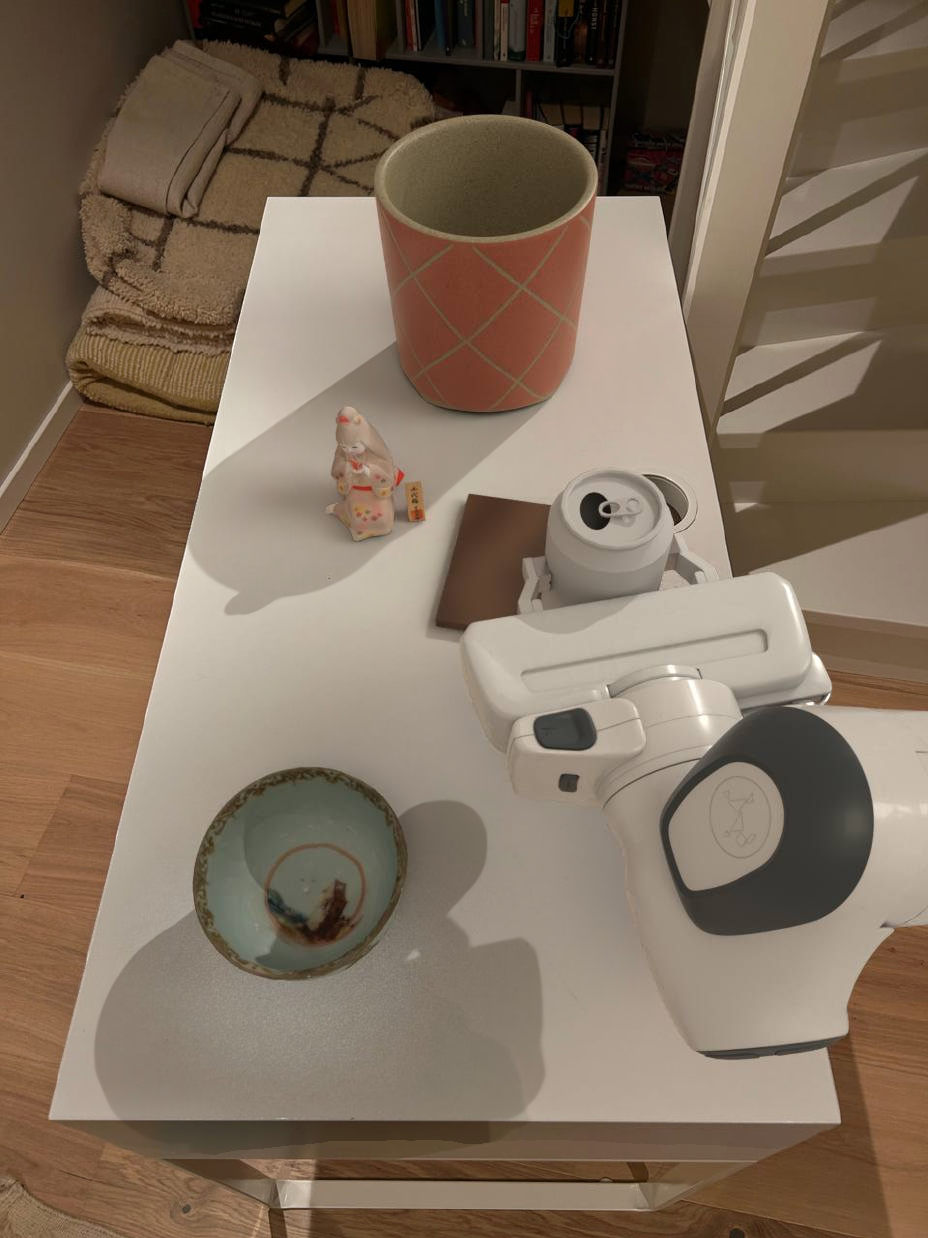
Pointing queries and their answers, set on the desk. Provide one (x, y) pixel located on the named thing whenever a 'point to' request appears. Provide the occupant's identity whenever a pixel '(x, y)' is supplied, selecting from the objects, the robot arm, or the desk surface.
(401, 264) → the planter
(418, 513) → the figurine
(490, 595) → the board
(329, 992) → the desk surface
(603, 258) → the desk surface
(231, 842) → the bowl
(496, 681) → the robot arm
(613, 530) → the can
